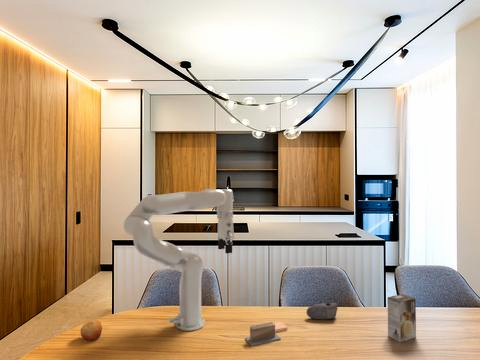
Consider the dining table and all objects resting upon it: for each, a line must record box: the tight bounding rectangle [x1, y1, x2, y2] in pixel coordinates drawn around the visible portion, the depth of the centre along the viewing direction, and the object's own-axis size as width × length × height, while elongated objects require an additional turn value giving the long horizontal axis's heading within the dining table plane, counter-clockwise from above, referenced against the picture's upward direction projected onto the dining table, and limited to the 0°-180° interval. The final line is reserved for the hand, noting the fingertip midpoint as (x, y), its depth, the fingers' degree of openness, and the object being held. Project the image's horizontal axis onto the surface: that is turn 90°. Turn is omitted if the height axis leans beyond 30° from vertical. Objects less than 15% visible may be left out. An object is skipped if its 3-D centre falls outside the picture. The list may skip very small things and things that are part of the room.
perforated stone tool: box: [306, 302, 338, 320], centre depth 152 cm, size 15×5×7 cm, turn 90°
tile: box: [273, 321, 288, 334], centre depth 141 cm, size 7×2×6 cm
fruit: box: [80, 319, 103, 342], centre depth 133 cm, size 8×8×8 cm
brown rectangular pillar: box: [249, 321, 276, 342], centre depth 132 cm, size 2×10×5 cm, turn 114°
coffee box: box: [387, 293, 417, 343], centre depth 134 cm, size 9×6×16 cm
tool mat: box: [244, 333, 281, 347], centre depth 132 cm, size 13×6×1 cm, turn 114°
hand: (225, 250), depth 156 cm, fingers open, 9 cm apart
